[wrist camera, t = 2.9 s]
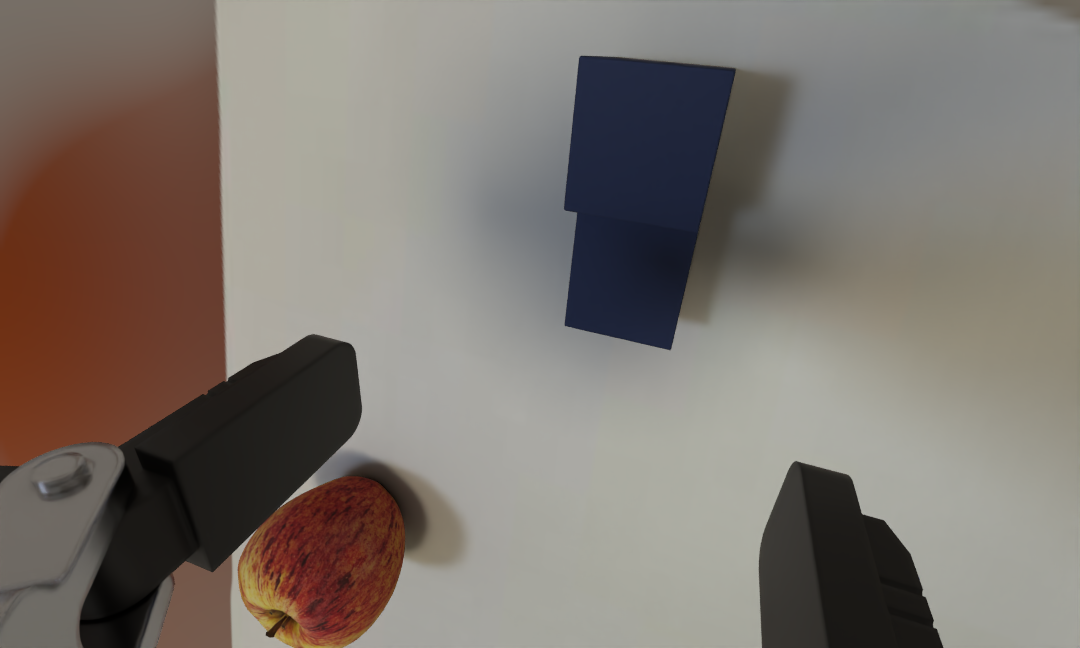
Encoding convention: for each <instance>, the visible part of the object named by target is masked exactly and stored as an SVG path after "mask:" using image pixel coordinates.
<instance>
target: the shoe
mask: <svg viewBox="0 0 1080 648" xmlns="http://www.w3.org/2000/svg"><path fill="white" fill-rule="evenodd" d="M735 71H736V68H731V67H720V66H710V65H699V64H688V63H677V62H666V61H655V60H644V59H633V58H622V57H602V56H580V58H579V65H578V75H577V85H576V95H575V105H574V115H573V125H572V134H571V144H570V154H569V164H568V174H567V184H566V194H565V204H564V210H566V211H572V212H577V221H576V230H575V238H574V247H573V256H572V265H571V273H570V282H569V291H568V300H567V308H566V317H565V326H568V327H572V328H576V329H581V330H585V331H589V332H594V333H598V334H602V335H607V336H611V337H615V338H620V339H624V340H628V341H633V342H637V343H641V344H646V345H650V346H655V347H659V348H663V349H668V350H671V347H672V343H673V339H674V334H675V330H676V326H677V321H678V317H679V313H680V308H681V304H682V300H683V296H684V291H685V287H686V283H687V278H688V274H689V270H690V265H691V261H692V257H693V252H694V248H695V244H696V240H697V235H698V231H699V227H700V222H701V218H702V214H703V209H704V205H705V201H706V196H707V192H708V188H709V184H710V179H711V175H712V171H713V166H714V162H715V158H716V153H717V149H718V145H719V140H720V136H721V132H722V128H723V123H724V119H725V115H726V110H727V106H728V102H729V97H730V93H731V89H732V84H733V80H734V76H735Z"/></svg>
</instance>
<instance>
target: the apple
mask: <svg viewBox="0 0 1080 648" xmlns="http://www.w3.org/2000/svg"><path fill="white" fill-rule="evenodd" d="M404 550H405V528H404V522H403V518H402V515H401V512H400V509H399V507H398V505H397V503H396V502H395V500H394V499H393V497H392V496H391V495H390V494H389V493H388V492H387V491H386V490H385V488H384V487H383V486H382V485H380V484H379V483H378V482H376V481H373V480H371V479H368V478H364V477H359V476H346V477H342V478H338V479H335V480H332V481H330V482H327V483H325V484H323V485H320V486H318V487H316V488H314V489H311V490H309V491H307V492H305V493H303V494H301V495H299V496H298V497H296V498H294V499H292V500H291V501H289V502H288V503H286V504H284V505H283V506H282V507H280V508H279V509H278V510H276V511H275V512H274V513H273V514H272V515H271V516H270V517H269V518H268V519H267V520H266V521H265V522H264V523H263V524H262V525H261V526H260V527H259V528H258V529H257V530H256V532H255V533H254V534H253V536H252V537H251V539H250V540H249V542H248V543H247V545H246V547H245V549H244V551H243V553H242V555H241V557H240V560H239V564H238V581H239V589H240V593H241V597H242V600H243V602H244V604H245V606H246V607H247V609H248V610H249V612H250V613H251V614H252V615H253V616H254V617H255V618H256V619H257V620H258V621H259V622H260V623H261V624H262V625H263V626H264V628H265V629H266V630H267V632H266V636H268V637H275V638H277V639H279V640H280V641H282V642H284V643H285V644H287V645H289V646H291V647H294V648H342V647H345V646H347V645H349V644H350V643H352V642H354V641H355V640H357V639H358V638H359V637H360V636H361V635H363V634H364V633H365V632H366V631H367V630H368V629H369V628H370V627H371V626H372V624H373V623H374V622H375V621H376V620H377V618H378V617H379V616H380V614H381V613H382V611H383V610H384V608H385V607H386V605H387V603H388V601H389V600H390V598H391V596H392V594H393V592H394V589H395V587H396V584H397V581H398V578H399V575H400V571H401V567H402V563H403V558H404Z"/></svg>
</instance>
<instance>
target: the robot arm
mask: <svg viewBox="0 0 1080 648" xmlns="http://www.w3.org/2000/svg"><path fill="white" fill-rule="evenodd" d="M361 413H362V403H361V395H360V386H359V378H358V369H357V360H356V353H355V350H354V348H353V346H352V345H351V344H349V343H347V342H343V341H339V340H335V339H331V338H327V337H324V336H320V335H315V334H312V335H308V336H306V337H305V338H303V339H301V340H300V341H298V342H297V343H295V344H294V345H292V346H290V347H289V348H287V349H286V350H284V351H283V352H281V353H279V354H276V355H273V356H270V357H268V358H265V359H262V360H259V361H256V362H254V363H252V364H250V365H249V366H247V367H245V368H244V369H242V370H241V371H239V372H237V373H236V374H234V375H233V376H231V377H229V378H228V381H227V382H225V381H223V382H221V383H220V384H218V385H217V386H215V387H213V388H212V389H210V390H209V391H208V394H207V395H204V394H202V395H201V396H199V397H198V398H196V399H194V400H193V401H191V402H189V403H188V404H186V405H185V406H183V407H182V408H180V409H178V410H177V411H175V412H173V413H172V414H170V415H169V416H167V417H165V418H164V419H162V420H161V421H159V422H157V423H156V424H154V425H153V426H151V427H150V428H148V429H146V430H145V431H143V432H142V433H140V434H138V435H137V436H135V437H134V438H132V439H130V440H129V441H127V442H125V443H124V444H122V445H120V446H119V447H116V446H115V445H112V444H108V443H102V442H88V443H80V444H74V445H70V446H66V447H62V448H59V449H56V450H53V451H50V452H48V453H45V454H43V455H40V456H38V457H36V458H34V459H32V460H30V461H28V462H27V463H25V464H23V465H21V466H0V648H156V646H157V643H158V640H159V637H160V633H161V630H162V627H163V623H164V620H165V617H166V613H167V610H168V607H169V603H170V600H171V596H172V593H173V590H174V585H175V583H174V576H173V573H172V572H173V571H175V570H176V569H177V568H178V567H179V566H180V565H181V564H182V563H183V562H185V561H187V562H190V563H192V564H194V565H197V566H199V567H201V568H204V569H206V570H209V571H211V572H214V571H215V570H216V569H217V567H218V566H220V565H221V564H222V563H223V562H224V561H225V560H226V559H227V558H228V557H229V556H230V555H231V554H232V553H233V552H234V551H235V550H236V549H237V548H238V547H239V546H240V545H241V544H242V543H243V542H244V541H245V540H246V539H247V538H248V537H249V536H250V535H251V534H252V533H253V532H254V531H255V530H256V529H258V528H259V527H260V526H261V525H262V524H263V523H264V522H265V521H266V520H267V519H268V518H269V517H270V516H271V515H272V514H273V513H274V512H275V511H276V510H277V509H278V508H279V507H280V506H281V505H282V504H283V503H284V502H285V501H286V500H287V499H288V498H289V497H290V496H291V495H292V494H293V493H294V492H295V491H296V490H297V489H298V488H299V487H300V486H302V485H303V484H304V483H305V482H306V481H307V480H308V479H309V478H310V477H311V476H312V475H313V474H314V473H315V472H316V471H317V470H318V469H319V468H320V467H321V466H322V465H323V464H324V463H325V462H326V461H327V460H328V459H329V458H330V457H331V456H332V455H333V454H334V453H335V452H336V451H337V450H338V449H339V448H340V447H341V446H342V445H343V444H344V443H345V442H347V441H348V440H349V439H350V437H351V436H352V435H353V434H354V432H355V430H356V429H357V426H358V424H359V422H360V418H361ZM759 586H760V609H761V633H762V648H943V645H942V643H941V640H940V637H939V634H938V631H937V629H935V628H933V621H934V620H933V617H932V614H931V611H930V608H929V606H928V603H927V600H926V597H923V596H922V591H923V588H922V586H921V583H920V580H919V577H918V574H917V571H916V568H915V566H914V563H913V560H912V557H911V554H910V553H909V552H908V550H907V549H906V548H905V547H904V545H903V544H902V543H901V541H900V540H899V539H898V538H897V536H896V535H895V534H894V533H893V531H892V530H891V529H890V527H889V526H888V525H887V524H886V522H885V521H884V520H880V519H877V518H873V517H870V516H866V515H862V513H861V509H860V506H859V502H858V498H857V495H856V491H855V488H854V484H853V481H852V479H851V477H850V476H849V475H846V474H843V473H839V472H835V471H831V470H827V469H824V468H820V467H816V466H812V465H808V464H804V463H801V462H797V461H796V462H794V463H793V464H792V465H791V467H790V468H789V470H788V473H787V475H786V478H785V480H784V483H783V485H782V488H781V490H780V492H779V495H778V497H777V500H776V502H775V505H774V507H773V510H772V512H771V515H770V517H769V520H768V522H767V525H766V527H765V530H764V533H763V537H762V542H761V547H760V555H759Z"/></svg>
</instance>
